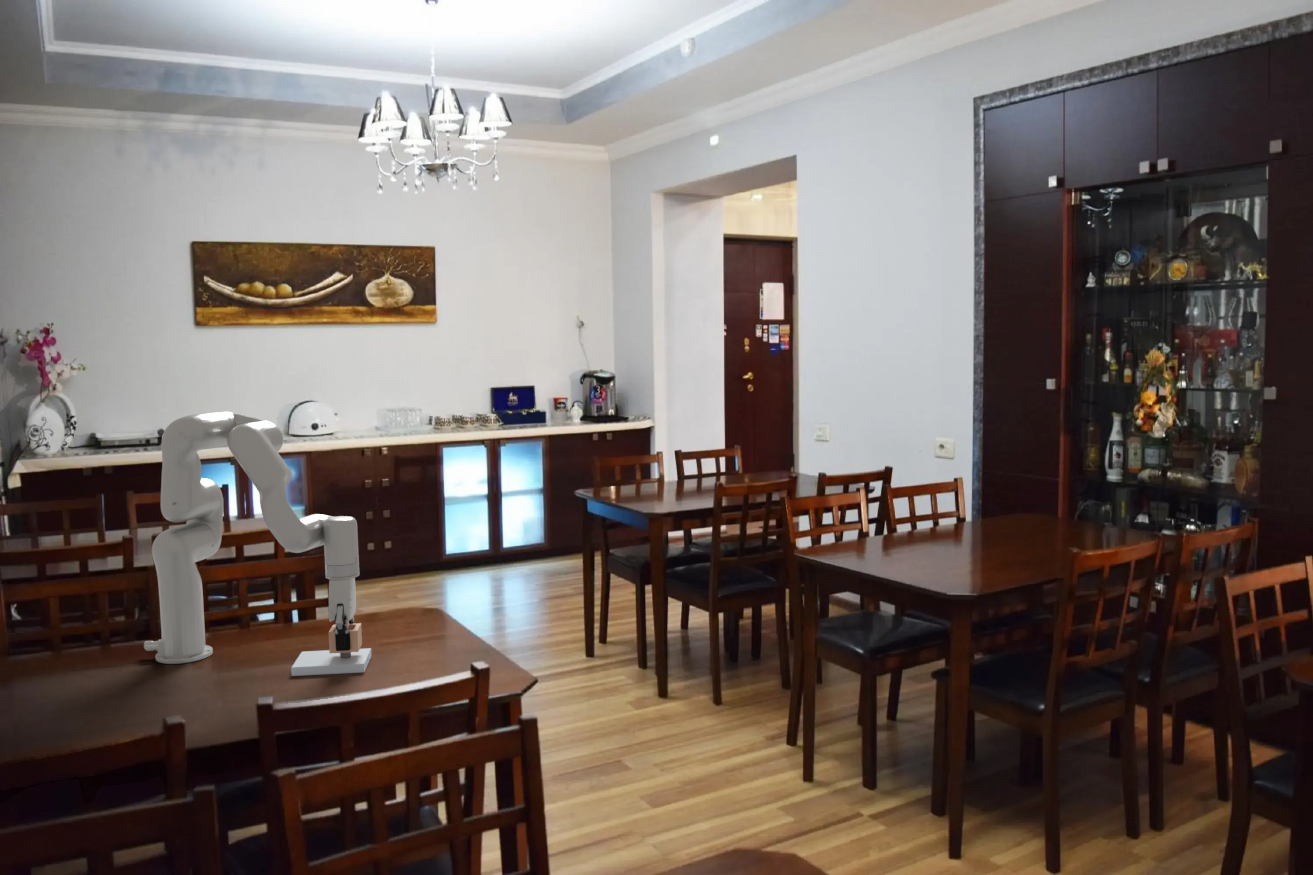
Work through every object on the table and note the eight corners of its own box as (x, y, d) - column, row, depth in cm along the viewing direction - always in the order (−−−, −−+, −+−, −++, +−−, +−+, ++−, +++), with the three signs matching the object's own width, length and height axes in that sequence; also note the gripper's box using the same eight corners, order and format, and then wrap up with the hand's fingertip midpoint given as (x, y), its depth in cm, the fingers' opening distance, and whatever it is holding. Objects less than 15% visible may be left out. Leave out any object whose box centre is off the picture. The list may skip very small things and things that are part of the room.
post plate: (291, 675, 234) (290, 645, 234) (302, 659, 246) (301, 630, 246) (364, 672, 237) (363, 642, 236) (371, 656, 248) (370, 627, 248)
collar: (329, 653, 238) (328, 632, 237) (334, 645, 244) (333, 624, 244) (358, 651, 239) (357, 630, 238) (362, 643, 245) (361, 623, 245)
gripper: (332, 562, 248) (335, 636, 249) (318, 579, 231) (322, 657, 232) (364, 561, 249) (367, 634, 250) (353, 577, 232) (356, 656, 233)
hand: (345, 645), depth 241 cm, fingers closed on collar, 6 cm apart
